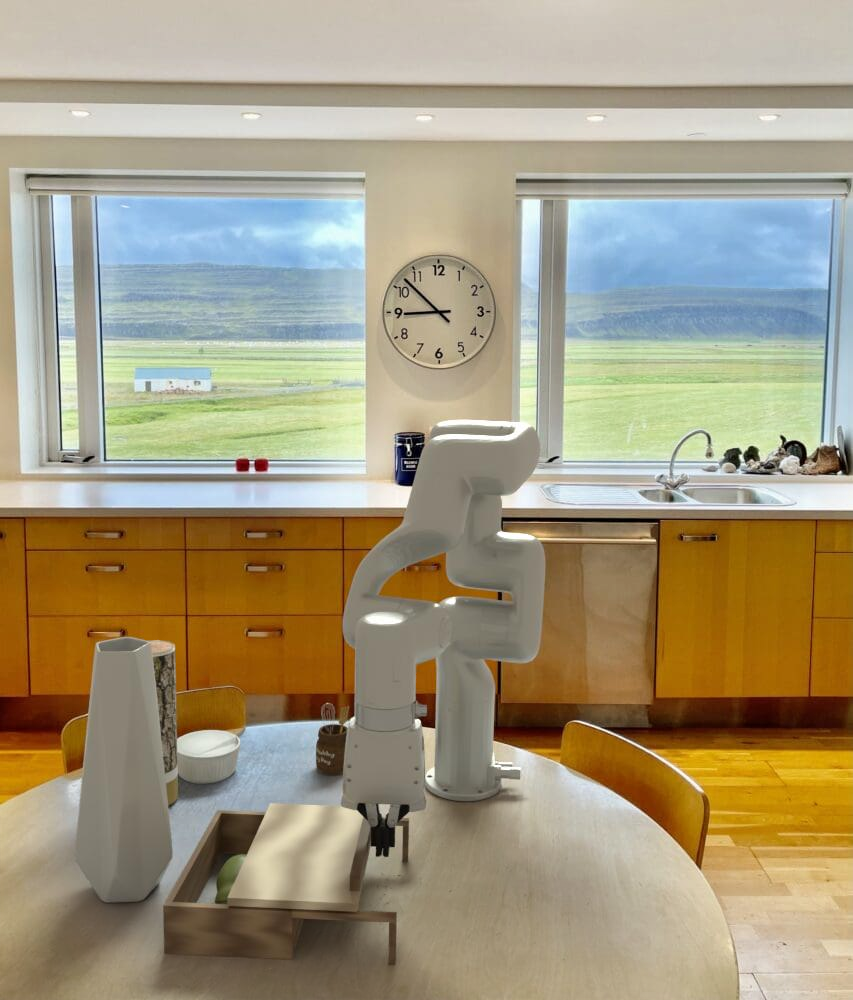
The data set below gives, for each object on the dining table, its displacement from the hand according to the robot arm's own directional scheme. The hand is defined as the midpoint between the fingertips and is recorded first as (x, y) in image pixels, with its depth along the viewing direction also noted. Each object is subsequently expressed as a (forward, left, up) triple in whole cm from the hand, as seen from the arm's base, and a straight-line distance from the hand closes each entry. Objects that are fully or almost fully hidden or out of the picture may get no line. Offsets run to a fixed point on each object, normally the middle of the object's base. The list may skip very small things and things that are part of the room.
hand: (382, 851), depth 116 cm
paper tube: (+38, -25, -8) cm, 46 cm away
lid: (+9, 0, -1) cm, 9 cm away
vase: (+34, -1, -8) cm, 35 cm away
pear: (+18, +1, -8) cm, 20 cm away
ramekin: (+33, -36, -8) cm, 49 cm away
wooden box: (+11, 0, -7) cm, 13 cm away
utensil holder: (+12, -39, -8) cm, 42 cm away
